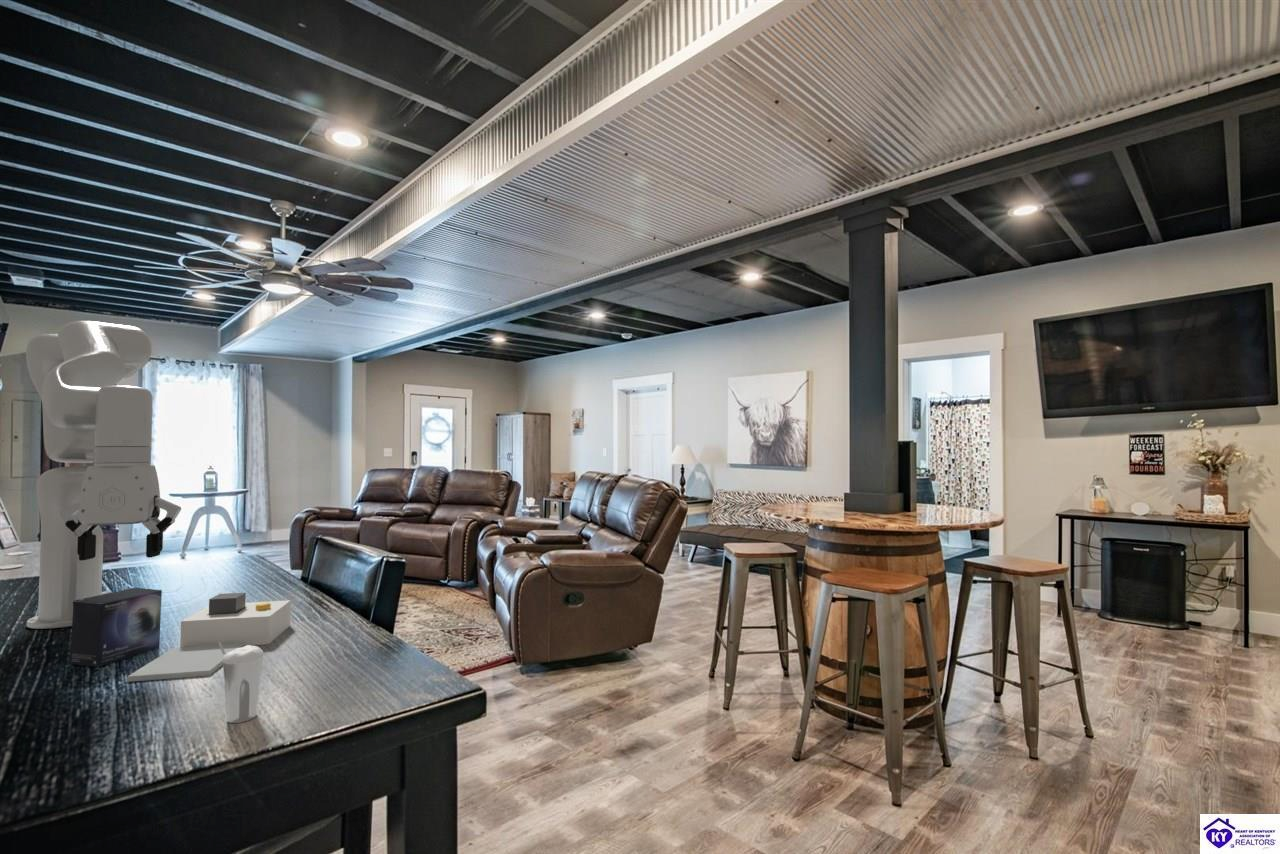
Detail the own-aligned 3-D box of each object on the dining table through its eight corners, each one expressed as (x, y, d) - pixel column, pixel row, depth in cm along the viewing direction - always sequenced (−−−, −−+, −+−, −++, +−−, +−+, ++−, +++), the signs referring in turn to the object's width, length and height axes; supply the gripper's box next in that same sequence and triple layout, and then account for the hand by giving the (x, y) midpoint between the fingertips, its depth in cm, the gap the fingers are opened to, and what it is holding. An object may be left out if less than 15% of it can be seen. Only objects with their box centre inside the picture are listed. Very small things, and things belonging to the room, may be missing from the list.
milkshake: (227, 711, 82) (229, 636, 83) (268, 710, 83) (270, 635, 83) (206, 726, 78) (208, 647, 78) (250, 725, 78) (252, 646, 79)
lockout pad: (174, 652, 107) (174, 647, 107) (245, 647, 109) (245, 642, 109) (127, 681, 93) (127, 676, 93) (209, 675, 95) (209, 670, 96)
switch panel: (210, 630, 119) (211, 600, 120) (290, 625, 123) (290, 596, 123) (180, 650, 108) (181, 616, 108) (268, 644, 111) (269, 611, 111)
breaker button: (218, 625, 116) (219, 593, 117) (244, 624, 117) (245, 592, 118) (208, 632, 112) (209, 599, 112) (235, 630, 113) (236, 598, 113)
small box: (99, 668, 99) (101, 602, 99) (67, 665, 100) (69, 600, 100) (162, 647, 109) (164, 588, 109) (132, 645, 110) (134, 586, 111)
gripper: (47, 458, 100) (44, 564, 99) (169, 457, 104) (167, 558, 103) (78, 458, 107) (75, 556, 107) (191, 457, 111) (188, 552, 111)
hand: (120, 557), depth 105 cm, fingers open, 9 cm apart
